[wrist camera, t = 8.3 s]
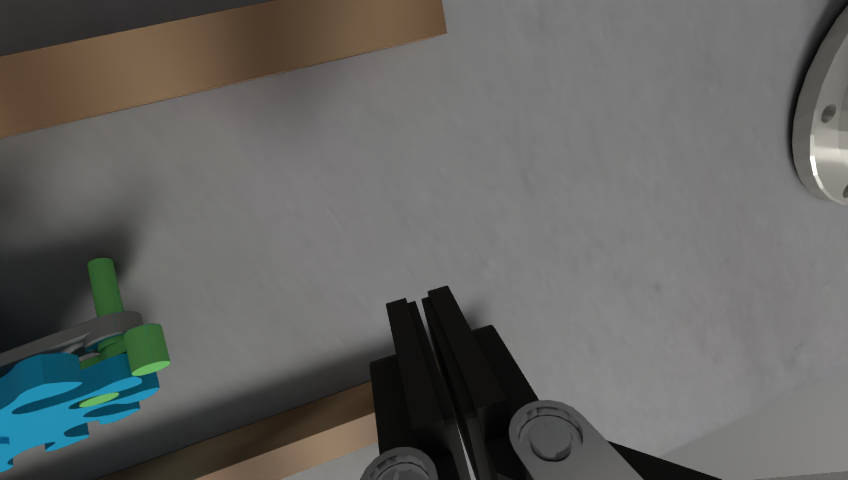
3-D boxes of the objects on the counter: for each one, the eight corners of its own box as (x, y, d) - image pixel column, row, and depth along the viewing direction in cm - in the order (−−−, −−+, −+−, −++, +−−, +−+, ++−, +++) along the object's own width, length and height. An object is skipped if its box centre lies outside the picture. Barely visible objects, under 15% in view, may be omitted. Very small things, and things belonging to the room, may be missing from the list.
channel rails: (419, -19, 14) (435, -33, 12) (490, 365, 21) (507, 392, 20) (-414, 156, 10) (-566, 172, 9) (20, 539, 18) (-12, 591, 16)
